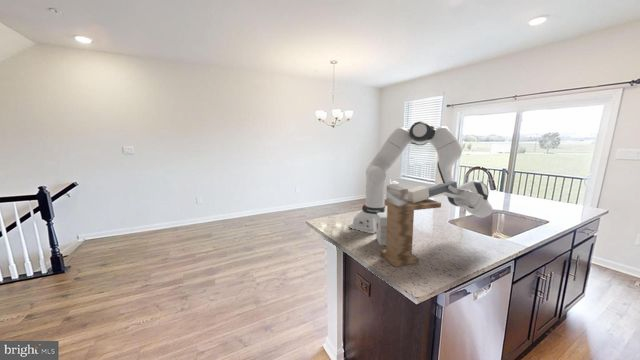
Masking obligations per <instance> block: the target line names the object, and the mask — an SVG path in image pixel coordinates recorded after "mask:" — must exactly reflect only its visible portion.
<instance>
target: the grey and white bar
mask: <svg viewBox="0 0 640 360" xmlns="http://www.w3.org/2000/svg"><path fill="white" fill-rule="evenodd" d="M457 182H458V181H455V180H453V181H450V182H446V183H443V182H442V183H439V184H440V185H438V184H437V185H434V186H431V187H428V186H425V185H418V186H413V187H411V188H407V189H408V201H410V202H412V203H416V202H419V201H422V200H425V199H430V198H431V197H434V196H437V195H440V194H441V193H444V192H447V191H450V190H448V189H447V188H446V187H447V185H450V186H452V187H454V188H457V187H458V183H457ZM441 195H442V194H441Z"/></svg>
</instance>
